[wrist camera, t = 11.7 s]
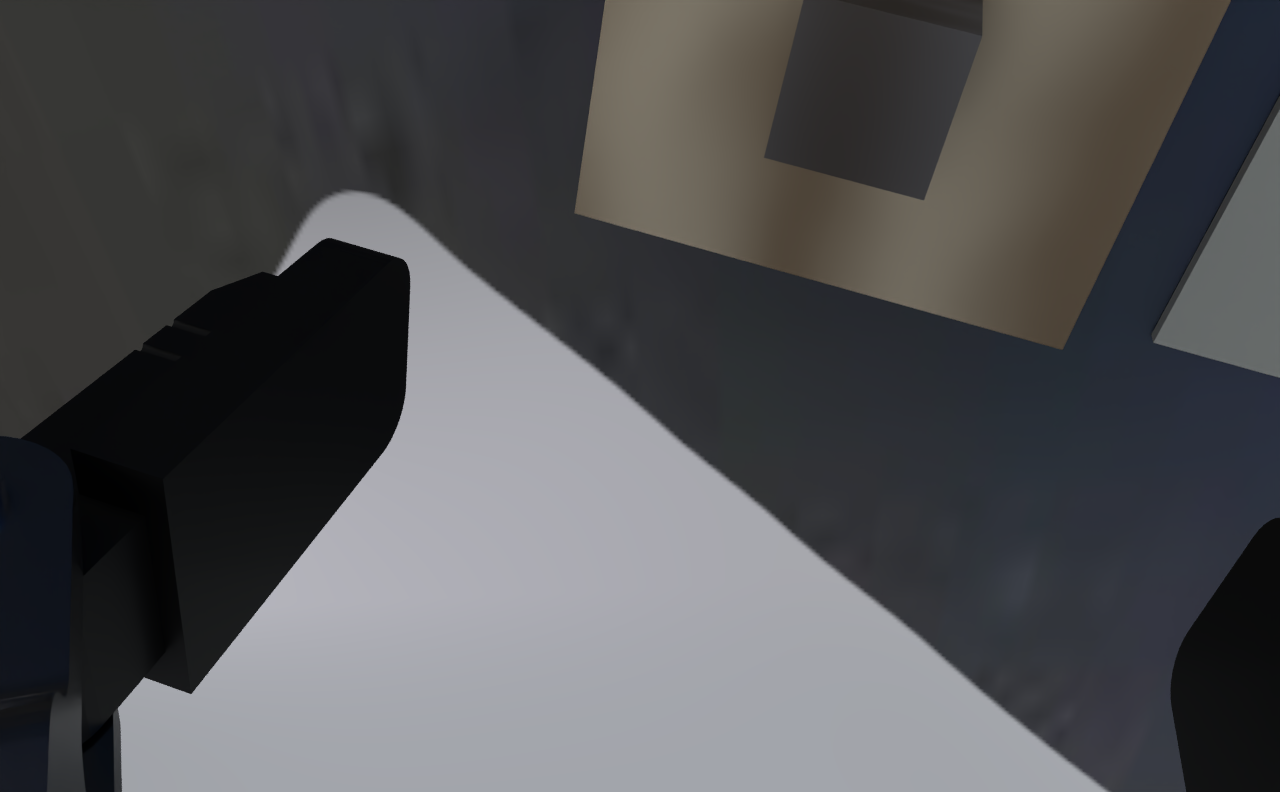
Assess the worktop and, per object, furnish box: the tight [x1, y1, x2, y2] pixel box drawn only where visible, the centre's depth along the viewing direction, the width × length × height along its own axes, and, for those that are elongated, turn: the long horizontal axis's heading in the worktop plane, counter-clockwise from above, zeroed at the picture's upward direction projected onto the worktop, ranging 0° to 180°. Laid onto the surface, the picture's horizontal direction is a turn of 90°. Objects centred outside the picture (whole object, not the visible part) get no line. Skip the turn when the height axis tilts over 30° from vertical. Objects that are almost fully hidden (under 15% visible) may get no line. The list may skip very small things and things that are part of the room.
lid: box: [575, 0, 1231, 350], centre depth 22 cm, size 13×13×6 cm
